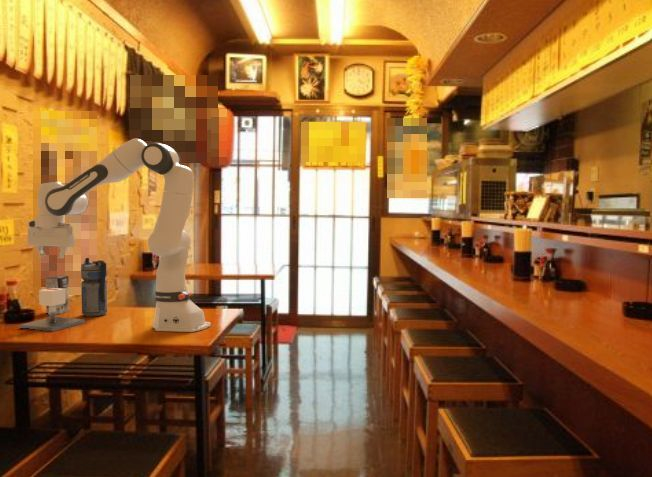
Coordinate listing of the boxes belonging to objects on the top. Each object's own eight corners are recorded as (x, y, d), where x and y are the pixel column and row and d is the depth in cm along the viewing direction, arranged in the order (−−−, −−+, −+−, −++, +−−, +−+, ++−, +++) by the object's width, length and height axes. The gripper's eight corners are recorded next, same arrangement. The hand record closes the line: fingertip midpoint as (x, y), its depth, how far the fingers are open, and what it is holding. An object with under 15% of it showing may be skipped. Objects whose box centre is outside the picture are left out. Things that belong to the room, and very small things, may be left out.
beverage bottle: (95, 318, 210) (93, 260, 209) (75, 315, 217) (74, 258, 215) (115, 314, 219) (114, 258, 218) (96, 311, 225) (95, 256, 224)
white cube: (65, 303, 199) (65, 287, 198) (52, 306, 193) (51, 290, 192) (52, 302, 201) (52, 287, 200) (39, 305, 194) (38, 289, 194)
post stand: (84, 322, 202) (84, 294, 202) (52, 331, 187) (51, 301, 186) (53, 320, 207) (53, 292, 206) (19, 328, 192) (18, 299, 191)
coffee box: (61, 314, 220) (60, 278, 219) (45, 314, 219) (45, 278, 218) (69, 310, 229) (68, 275, 228) (55, 310, 228) (54, 275, 227)
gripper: (78, 223, 195) (78, 258, 196) (37, 222, 201) (38, 256, 202) (65, 223, 189) (66, 259, 190) (24, 222, 195) (24, 257, 196)
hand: (51, 257), depth 196 cm, fingers open, 8 cm apart
